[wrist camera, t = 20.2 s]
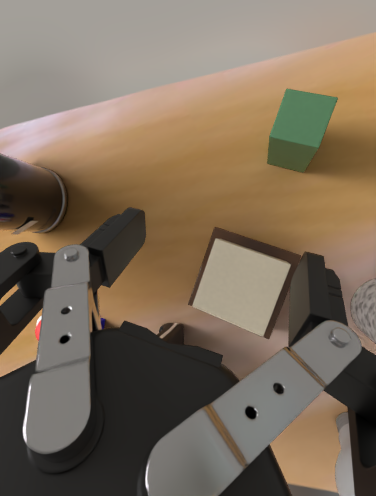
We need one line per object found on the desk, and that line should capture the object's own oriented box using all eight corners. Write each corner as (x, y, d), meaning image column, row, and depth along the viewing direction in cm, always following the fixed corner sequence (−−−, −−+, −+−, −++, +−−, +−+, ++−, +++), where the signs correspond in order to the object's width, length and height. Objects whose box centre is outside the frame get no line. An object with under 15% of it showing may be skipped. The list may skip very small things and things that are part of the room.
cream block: (199, 299, 27) (191, 306, 24) (220, 238, 26) (215, 238, 23) (262, 326, 25) (262, 337, 22) (287, 261, 25) (291, 264, 22)
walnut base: (195, 297, 31) (187, 304, 28) (219, 228, 30) (214, 226, 26) (267, 328, 29) (268, 339, 25) (296, 253, 28) (301, 255, 24)
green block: (267, 163, 28) (269, 136, 21) (279, 128, 28) (286, 88, 20) (303, 172, 27) (318, 148, 20) (317, 136, 27) (338, 97, 19)
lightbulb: (393, 415, 25) (488, 539, 15) (359, 460, 26) (425, 606, 16) (335, 378, 27) (383, 467, 16) (304, 422, 28) (330, 532, 17)
